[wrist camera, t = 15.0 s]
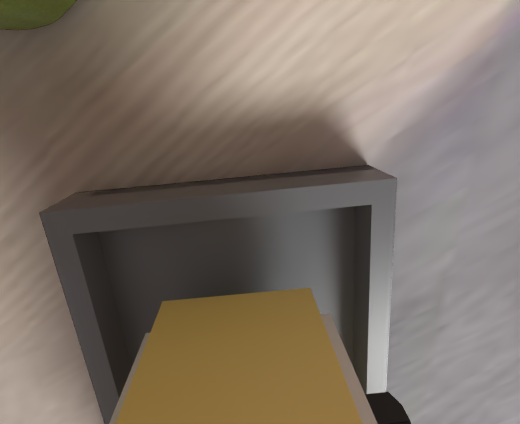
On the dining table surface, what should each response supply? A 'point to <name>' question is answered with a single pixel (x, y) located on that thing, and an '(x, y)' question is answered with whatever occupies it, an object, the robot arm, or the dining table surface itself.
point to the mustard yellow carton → (239, 364)
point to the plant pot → (31, 13)
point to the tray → (226, 258)
